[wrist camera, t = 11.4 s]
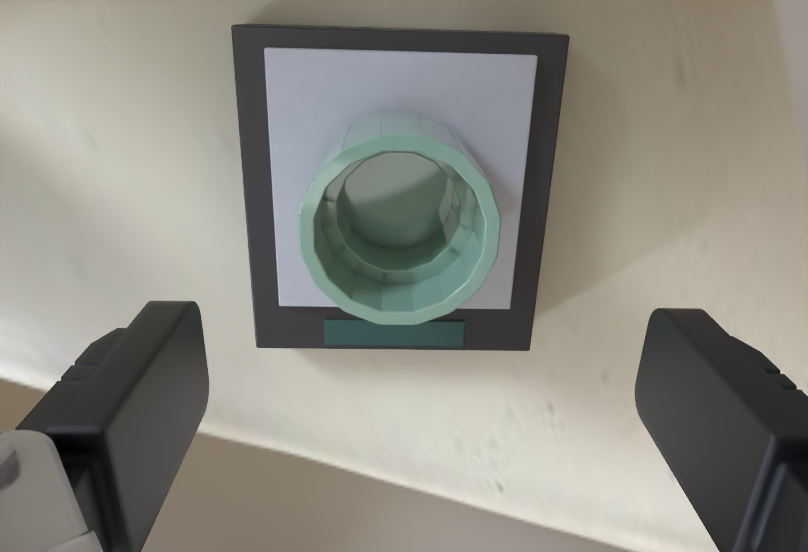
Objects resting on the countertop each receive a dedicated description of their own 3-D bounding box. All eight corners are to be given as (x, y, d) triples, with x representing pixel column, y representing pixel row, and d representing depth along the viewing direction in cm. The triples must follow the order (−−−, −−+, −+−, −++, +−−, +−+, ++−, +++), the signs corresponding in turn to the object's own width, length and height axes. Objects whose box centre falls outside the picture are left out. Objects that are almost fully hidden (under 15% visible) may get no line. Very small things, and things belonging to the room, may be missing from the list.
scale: (243, 23, 23) (226, 25, 21) (554, 32, 24) (574, 35, 21) (265, 324, 28) (253, 354, 26) (519, 327, 29) (532, 357, 26)
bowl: (313, 106, 22) (294, 131, 17) (484, 111, 22) (509, 137, 18) (317, 265, 24) (302, 324, 20) (471, 268, 25) (491, 327, 20)
